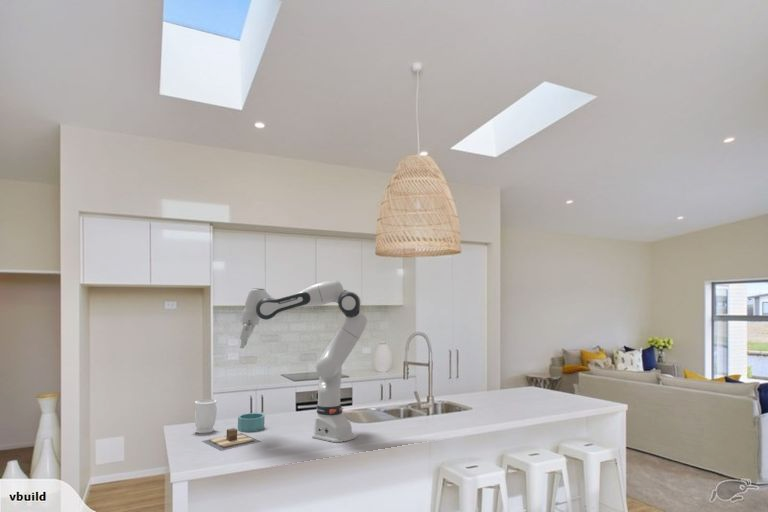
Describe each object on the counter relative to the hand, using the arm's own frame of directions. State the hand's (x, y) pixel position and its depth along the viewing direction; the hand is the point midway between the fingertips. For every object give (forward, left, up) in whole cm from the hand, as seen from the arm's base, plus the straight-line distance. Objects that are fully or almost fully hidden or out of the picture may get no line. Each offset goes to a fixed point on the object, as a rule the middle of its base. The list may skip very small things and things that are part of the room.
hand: (243, 346), depth 240 cm
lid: (-9, +9, -42) cm, 44 cm away
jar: (+18, +10, -43) cm, 48 cm away
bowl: (+6, -9, -43) cm, 44 cm away
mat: (-9, +9, -43) cm, 45 cm away
